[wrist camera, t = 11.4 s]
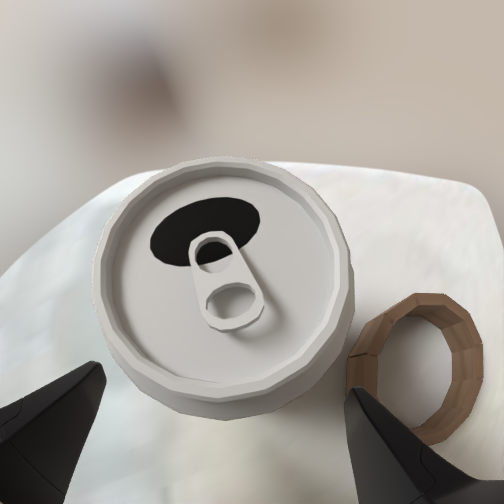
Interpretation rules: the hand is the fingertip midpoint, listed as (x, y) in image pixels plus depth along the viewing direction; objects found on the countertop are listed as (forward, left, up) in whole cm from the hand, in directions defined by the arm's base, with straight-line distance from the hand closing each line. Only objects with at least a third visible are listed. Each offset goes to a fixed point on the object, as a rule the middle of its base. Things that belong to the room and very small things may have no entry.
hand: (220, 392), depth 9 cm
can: (+3, -2, -8) cm, 8 cm away
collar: (-6, -11, -8) cm, 15 cm away
